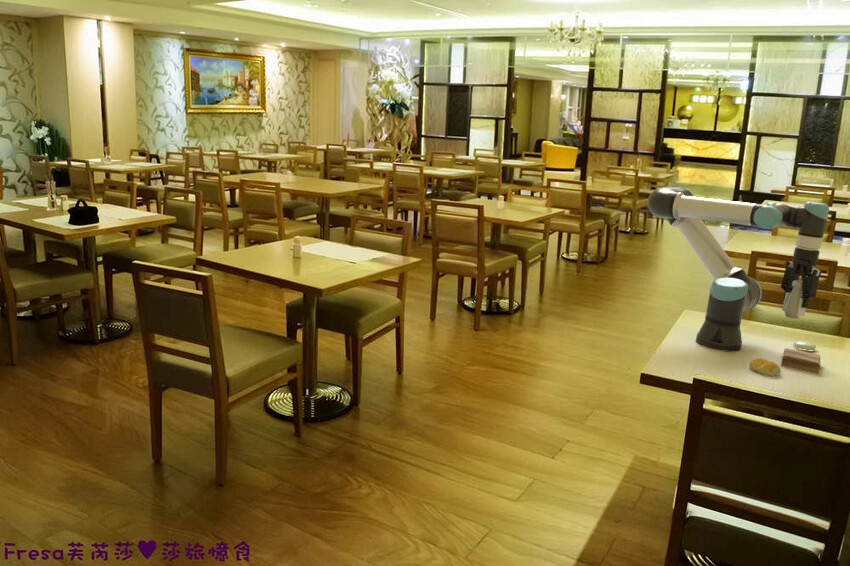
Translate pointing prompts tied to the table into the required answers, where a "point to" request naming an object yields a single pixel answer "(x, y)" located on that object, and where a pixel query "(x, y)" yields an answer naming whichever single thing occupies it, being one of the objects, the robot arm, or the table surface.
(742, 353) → the table surface
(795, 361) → the stand
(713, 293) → the robot arm
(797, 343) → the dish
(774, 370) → the bread roll
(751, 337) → the table surface
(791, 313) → the salt shaker
